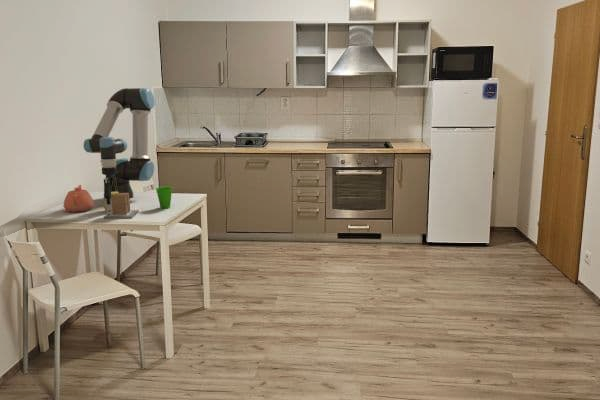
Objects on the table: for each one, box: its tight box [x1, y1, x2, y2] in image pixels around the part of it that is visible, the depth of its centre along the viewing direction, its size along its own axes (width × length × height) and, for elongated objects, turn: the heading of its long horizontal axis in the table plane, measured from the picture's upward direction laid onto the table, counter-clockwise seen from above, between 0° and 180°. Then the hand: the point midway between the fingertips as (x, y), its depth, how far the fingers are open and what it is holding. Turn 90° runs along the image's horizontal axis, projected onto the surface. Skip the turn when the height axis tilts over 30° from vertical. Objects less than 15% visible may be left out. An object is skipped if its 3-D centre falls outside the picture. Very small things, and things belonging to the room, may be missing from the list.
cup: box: [155, 186, 174, 210], centre depth 300 cm, size 9×9×11 cm
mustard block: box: [103, 192, 118, 213], centre depth 293 cm, size 6×6×10 cm
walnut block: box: [111, 193, 131, 215], centre depth 283 cm, size 7×7×10 cm
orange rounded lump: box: [63, 184, 95, 213], centre depth 296 cm, size 22×15×12 cm
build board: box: [103, 209, 140, 220], centre depth 284 cm, size 14×14×1 cm
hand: (112, 208), depth 294 cm, fingers open, 9 cm apart
